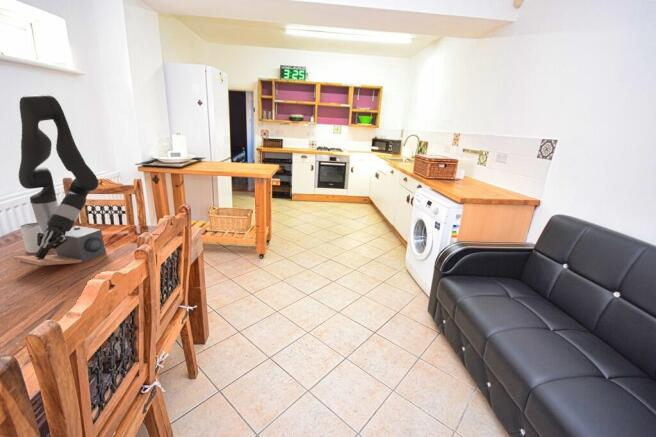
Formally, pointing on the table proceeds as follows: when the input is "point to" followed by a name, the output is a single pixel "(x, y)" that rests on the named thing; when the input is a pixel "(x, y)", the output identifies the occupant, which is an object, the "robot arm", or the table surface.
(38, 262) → the side door
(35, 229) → the can
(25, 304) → the table surface
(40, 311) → the table surface
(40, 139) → the robot arm
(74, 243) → the camera body
